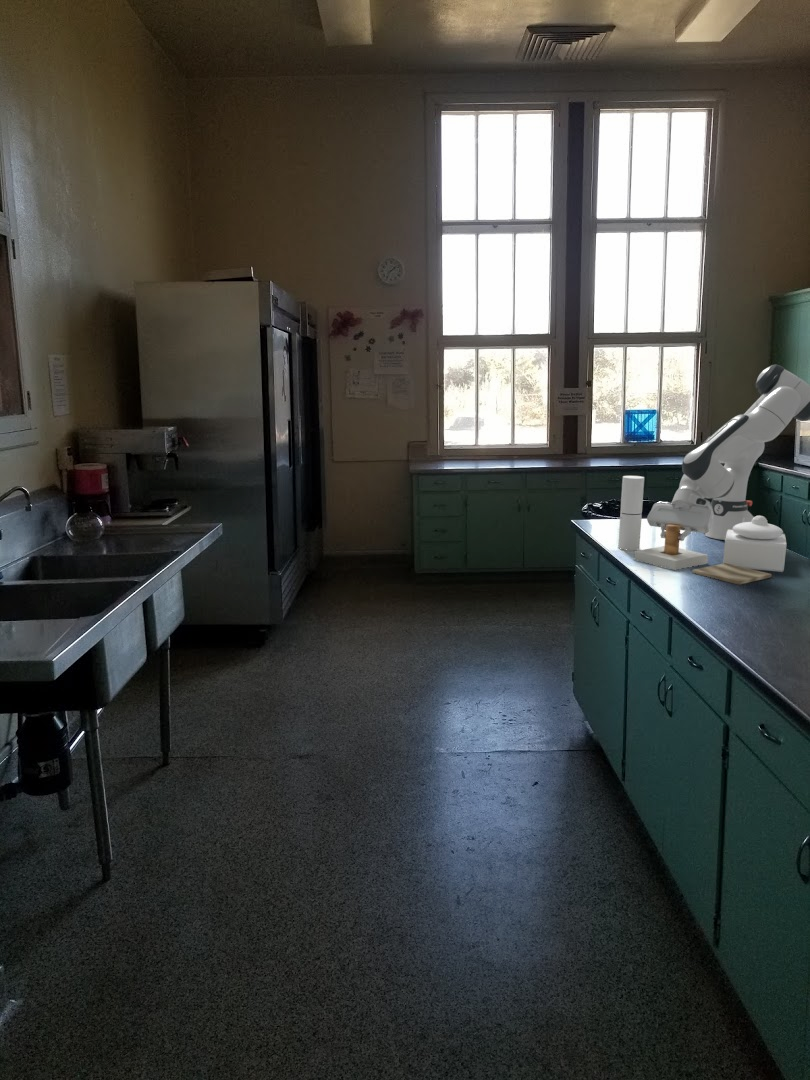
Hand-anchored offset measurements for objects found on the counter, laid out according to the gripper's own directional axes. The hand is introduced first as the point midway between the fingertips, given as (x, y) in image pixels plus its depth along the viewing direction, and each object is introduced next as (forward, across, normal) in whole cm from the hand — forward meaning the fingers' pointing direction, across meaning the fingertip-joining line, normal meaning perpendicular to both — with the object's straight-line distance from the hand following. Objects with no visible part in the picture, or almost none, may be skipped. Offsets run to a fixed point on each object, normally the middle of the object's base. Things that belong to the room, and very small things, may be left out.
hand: (671, 538), depth 254 cm
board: (+8, +21, +3) cm, 22 cm away
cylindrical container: (-2, -19, +13) cm, 23 cm away
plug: (+5, 0, +6) cm, 8 cm away
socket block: (+5, 0, +6) cm, 8 cm away
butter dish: (-6, +21, +18) cm, 28 cm away
